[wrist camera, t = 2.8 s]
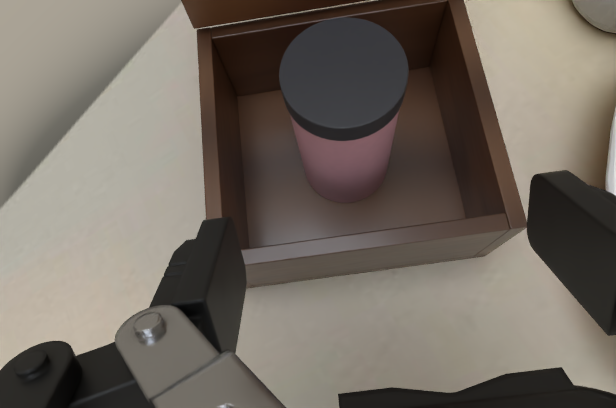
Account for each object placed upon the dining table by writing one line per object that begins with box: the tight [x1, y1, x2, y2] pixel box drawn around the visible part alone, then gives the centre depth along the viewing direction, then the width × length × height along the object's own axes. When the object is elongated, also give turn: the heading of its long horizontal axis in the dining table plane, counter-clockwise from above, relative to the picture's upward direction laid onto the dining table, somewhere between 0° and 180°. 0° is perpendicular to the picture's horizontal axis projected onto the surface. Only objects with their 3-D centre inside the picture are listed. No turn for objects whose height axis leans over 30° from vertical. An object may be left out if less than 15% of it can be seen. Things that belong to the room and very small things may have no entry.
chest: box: [197, 0, 527, 288], centre depth 26 cm, size 14×15×7 cm
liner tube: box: [279, 17, 409, 203], centre depth 23 cm, size 5×5×10 cm
